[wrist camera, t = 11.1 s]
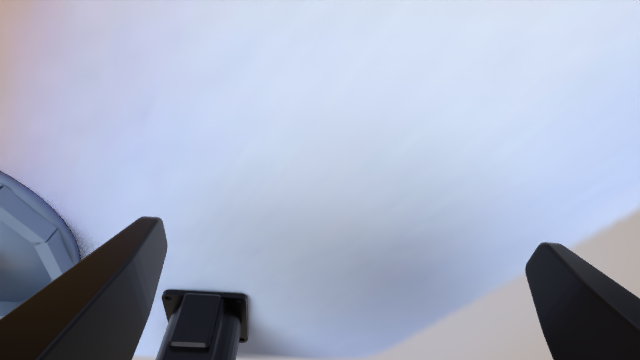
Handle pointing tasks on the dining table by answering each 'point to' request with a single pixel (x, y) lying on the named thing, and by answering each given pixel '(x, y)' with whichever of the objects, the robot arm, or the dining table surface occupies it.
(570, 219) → the dining table surface
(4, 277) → the light blue round dish
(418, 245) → the dining table surface
